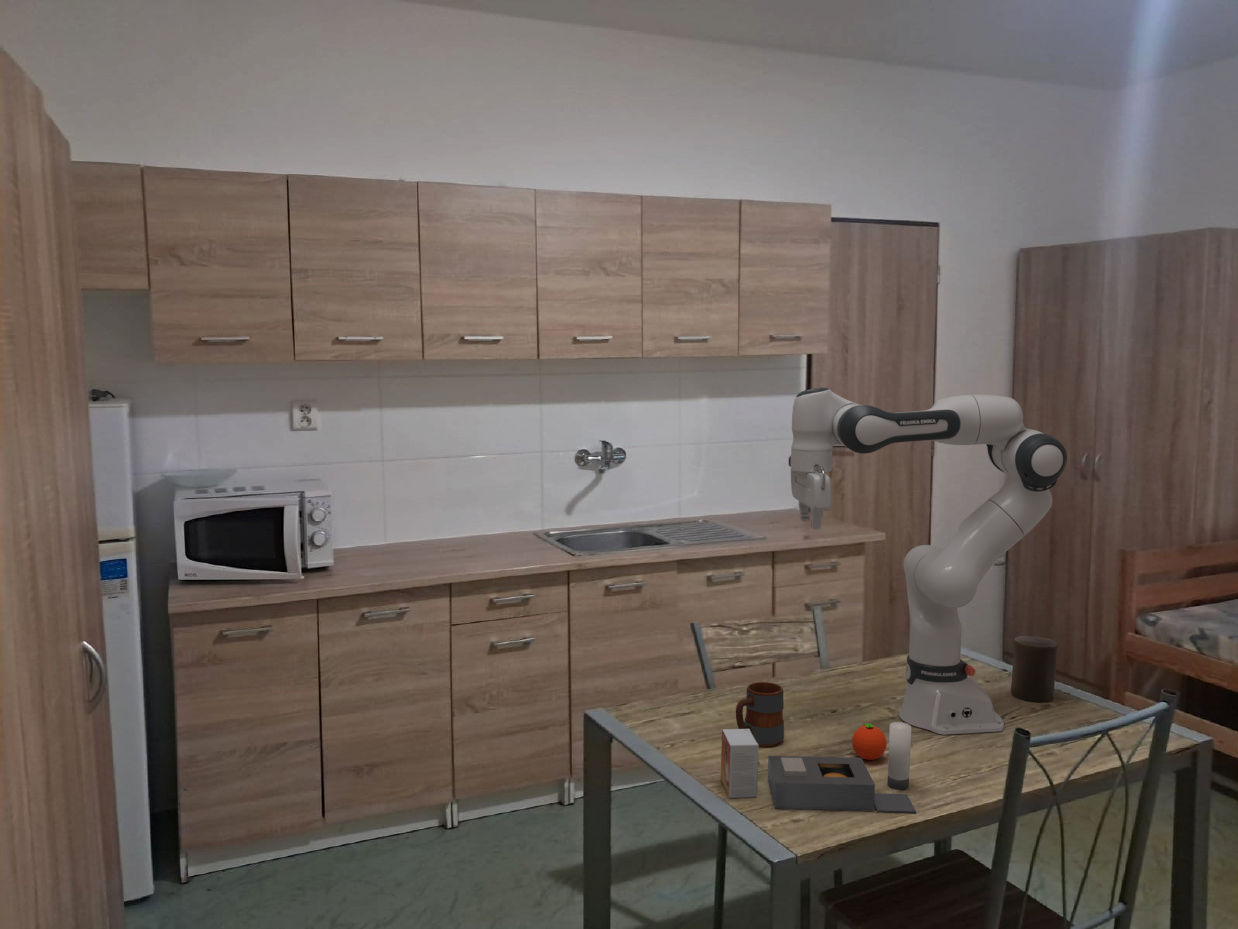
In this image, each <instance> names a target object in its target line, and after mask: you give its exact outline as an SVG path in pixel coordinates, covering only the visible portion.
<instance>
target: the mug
mask: <svg viewBox="0 0 1238 929" xmlns="http://www.w3.org/2000/svg"><path fill="white" fill-rule="evenodd" d="M745 695H746V697H745V698H743V699H740V700H739V701H738V702H737V704H736V707H735V719H736V724H737V729H750V731H751V733H752V735H753V737H754V739H755V740H756V742H757V743H758V745H759V748H761V747H762V748H771V747H777V746H779V745H781V743H782V742H783V740H784V739H785V720H784V718H783V716H784V715H783V712H784V711H783V710H784V709H785V708H784V705H785V704H784V701H785V700H784V689H783V687H782V686H781V685H780V684H777V683H774V682H769V681H768V682H767V681H766V682H765V681H758V682H752V683H751V684H749V685H747V687H746V694H745ZM744 707H746V710H745V717H744V713H743V712H744Z"/></svg>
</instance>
